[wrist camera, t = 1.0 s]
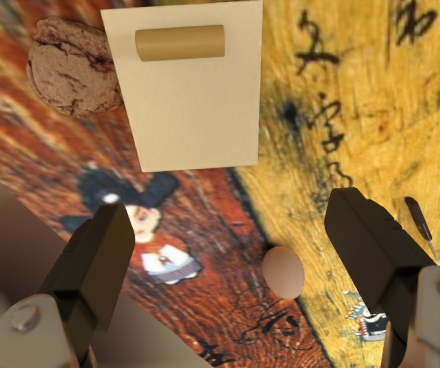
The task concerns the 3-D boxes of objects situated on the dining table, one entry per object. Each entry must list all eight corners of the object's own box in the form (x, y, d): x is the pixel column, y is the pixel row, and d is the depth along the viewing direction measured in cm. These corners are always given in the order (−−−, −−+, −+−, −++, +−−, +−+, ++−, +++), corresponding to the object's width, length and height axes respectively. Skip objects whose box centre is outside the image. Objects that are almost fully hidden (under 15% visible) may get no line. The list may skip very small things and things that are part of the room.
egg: (279, 231, 42) (294, 277, 34) (302, 248, 45) (322, 294, 37) (251, 251, 45) (260, 299, 37) (275, 266, 47) (288, 314, 40)
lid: (103, 10, 18) (72, 6, 14) (261, 0, 18) (277, -7, 14) (144, 168, 25) (131, 197, 21) (256, 161, 26) (265, 188, 21)
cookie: (15, 74, 27) (-4, 80, 25) (62, -10, 23) (45, -14, 21) (97, 134, 31) (87, 144, 29) (148, 71, 28) (142, 76, 25)
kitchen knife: (402, 197, 39) (411, 205, 38) (409, 194, 39) (418, 202, 37) (429, 256, 47) (438, 264, 46) (435, 253, 47) (443, 262, 45)
